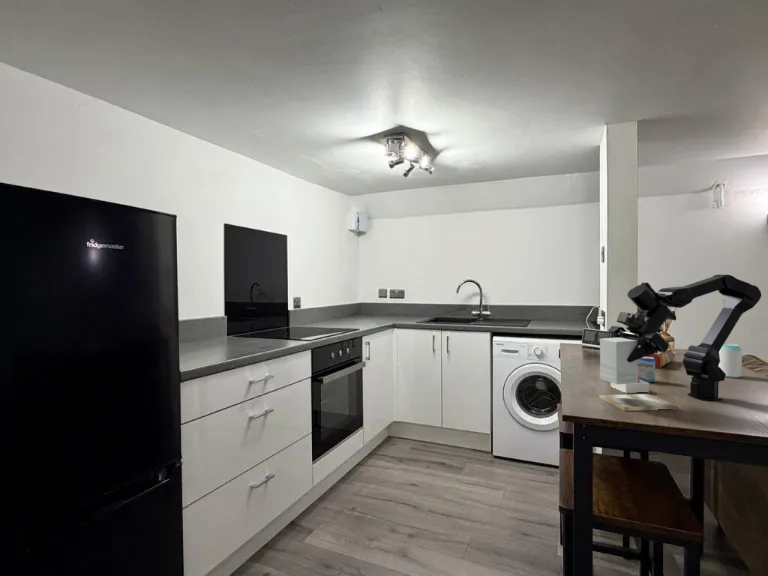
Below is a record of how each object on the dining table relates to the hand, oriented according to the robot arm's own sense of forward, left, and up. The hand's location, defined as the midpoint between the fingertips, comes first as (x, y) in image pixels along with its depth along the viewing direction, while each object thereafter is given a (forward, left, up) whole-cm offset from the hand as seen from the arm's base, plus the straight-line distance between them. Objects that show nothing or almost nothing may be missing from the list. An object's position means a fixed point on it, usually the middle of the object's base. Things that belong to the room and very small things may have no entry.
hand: (618, 358), depth 126 cm
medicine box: (-25, -24, -13) cm, 37 cm away
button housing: (-13, -13, -13) cm, 23 cm away
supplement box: (0, 0, -7) cm, 7 cm away
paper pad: (-5, +2, -13) cm, 14 cm away
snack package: (-51, -50, -14) cm, 73 cm away
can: (-62, -27, -13) cm, 69 cm away
